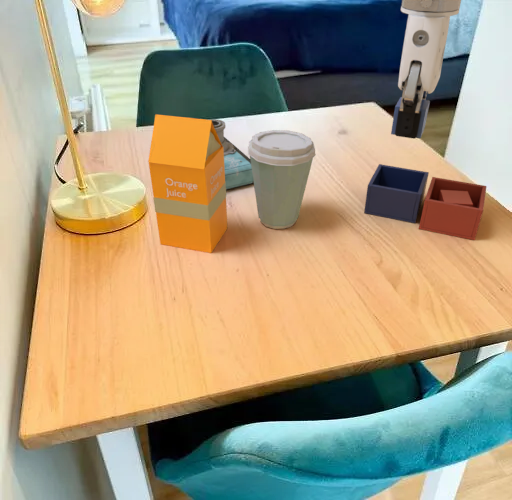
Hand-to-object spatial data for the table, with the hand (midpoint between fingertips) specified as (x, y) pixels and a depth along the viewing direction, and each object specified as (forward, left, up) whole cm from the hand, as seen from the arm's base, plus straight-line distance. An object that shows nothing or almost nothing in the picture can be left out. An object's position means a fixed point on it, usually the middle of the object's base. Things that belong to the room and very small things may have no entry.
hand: (408, 129), depth 78 cm
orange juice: (+29, +19, -16) cm, 38 cm away
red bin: (-9, -2, -16) cm, 18 cm away
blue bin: (+1, -3, -16) cm, 16 cm away
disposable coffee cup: (+18, +9, -16) cm, 25 cm away
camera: (+36, -3, -16) cm, 39 cm away
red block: (-9, -2, -15) cm, 18 cm away
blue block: (0, 0, 0) cm, 0 cm away
